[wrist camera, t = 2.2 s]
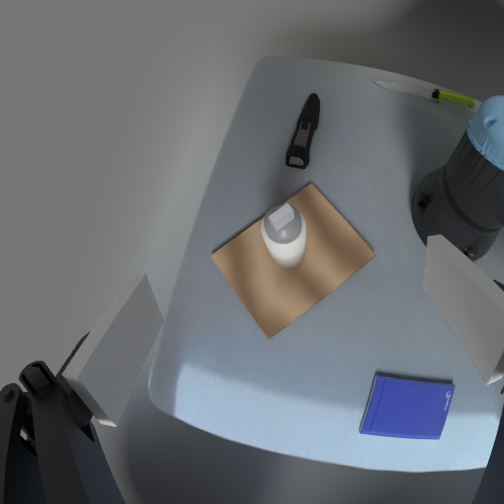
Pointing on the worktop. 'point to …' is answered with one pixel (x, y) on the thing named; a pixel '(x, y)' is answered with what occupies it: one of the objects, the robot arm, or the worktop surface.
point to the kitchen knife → (428, 93)
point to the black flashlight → (304, 134)
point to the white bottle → (285, 235)
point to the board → (301, 276)
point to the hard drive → (407, 408)
